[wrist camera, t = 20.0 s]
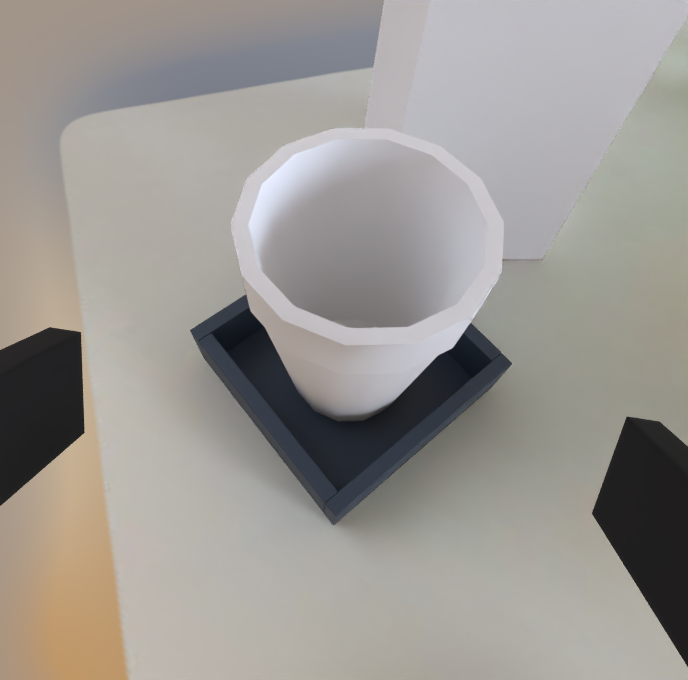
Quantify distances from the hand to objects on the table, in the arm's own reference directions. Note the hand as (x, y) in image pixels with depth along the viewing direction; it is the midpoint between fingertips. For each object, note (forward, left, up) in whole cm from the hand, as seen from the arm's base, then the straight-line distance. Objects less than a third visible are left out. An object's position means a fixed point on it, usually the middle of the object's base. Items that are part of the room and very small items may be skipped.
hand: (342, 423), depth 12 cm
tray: (+5, -6, -15) cm, 17 cm away
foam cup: (+5, -6, -15) cm, 17 cm away
